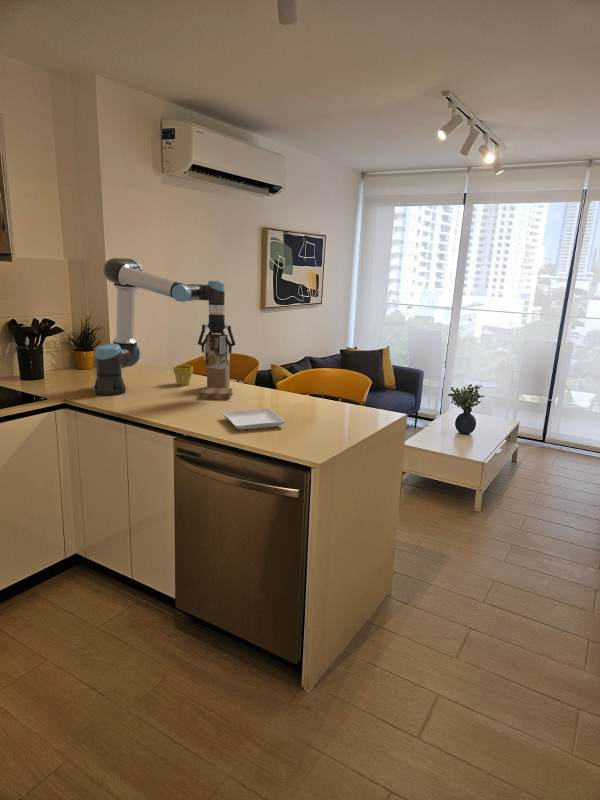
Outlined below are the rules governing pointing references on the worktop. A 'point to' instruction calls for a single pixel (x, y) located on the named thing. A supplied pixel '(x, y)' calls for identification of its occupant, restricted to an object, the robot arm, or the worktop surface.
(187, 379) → the plant pot
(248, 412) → the salad plate
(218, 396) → the walnut riser
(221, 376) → the block
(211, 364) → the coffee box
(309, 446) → the worktop surface
